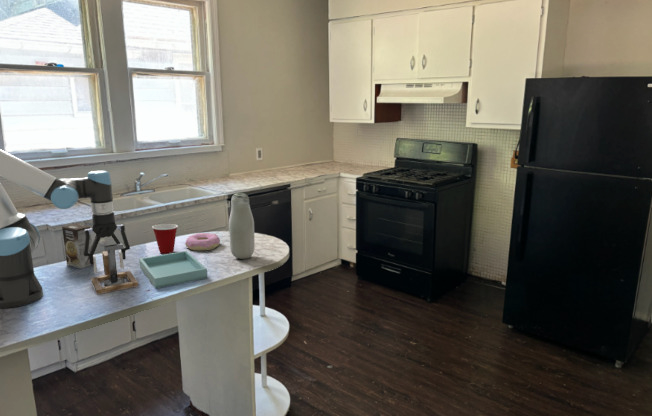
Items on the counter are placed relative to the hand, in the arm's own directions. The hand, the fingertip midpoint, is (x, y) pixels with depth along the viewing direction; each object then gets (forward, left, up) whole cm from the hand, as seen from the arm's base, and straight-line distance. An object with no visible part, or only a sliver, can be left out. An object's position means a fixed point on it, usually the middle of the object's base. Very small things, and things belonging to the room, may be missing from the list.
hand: (109, 269), depth 183 cm
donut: (+42, +15, -2) cm, 45 cm away
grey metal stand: (0, -11, -2) cm, 11 cm away
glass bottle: (+51, -9, -2) cm, 52 cm away
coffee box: (-8, +18, -2) cm, 20 cm away
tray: (+21, -11, -2) cm, 24 cm away
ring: (0, -8, -2) cm, 8 cm away
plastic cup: (+26, +16, -2) cm, 31 cm away
